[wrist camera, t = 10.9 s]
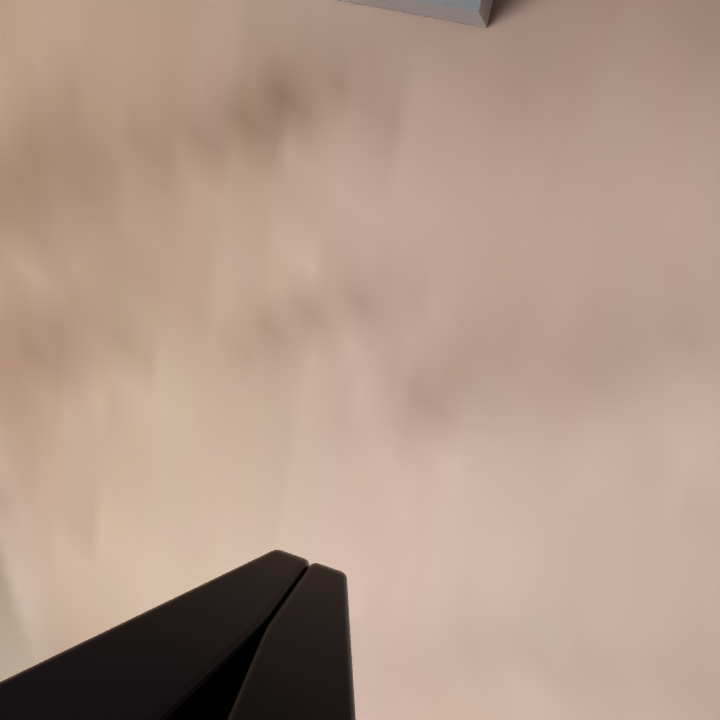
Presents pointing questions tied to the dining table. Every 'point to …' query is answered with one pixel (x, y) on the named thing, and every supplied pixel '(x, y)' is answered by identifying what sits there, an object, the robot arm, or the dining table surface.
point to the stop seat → (439, 9)
